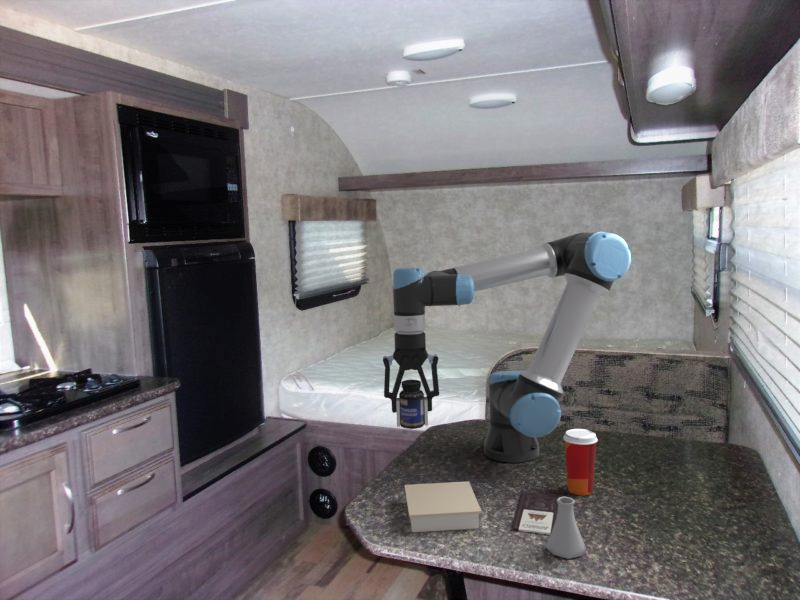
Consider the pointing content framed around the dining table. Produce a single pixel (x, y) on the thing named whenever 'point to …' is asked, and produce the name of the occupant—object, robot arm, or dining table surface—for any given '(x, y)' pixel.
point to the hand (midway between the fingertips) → (412, 424)
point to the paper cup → (580, 460)
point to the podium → (442, 506)
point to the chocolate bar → (536, 513)
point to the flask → (565, 532)
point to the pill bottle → (411, 405)
